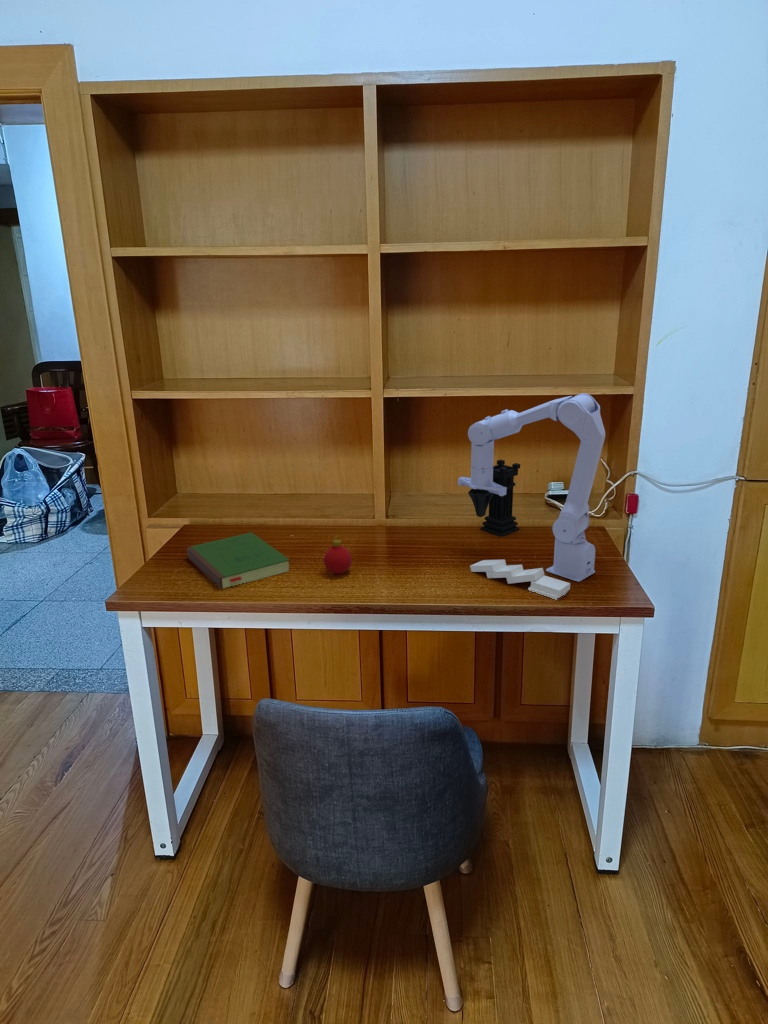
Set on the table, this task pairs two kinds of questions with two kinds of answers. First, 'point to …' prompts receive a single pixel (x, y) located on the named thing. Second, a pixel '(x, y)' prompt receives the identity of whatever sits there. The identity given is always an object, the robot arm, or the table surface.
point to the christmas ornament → (337, 558)
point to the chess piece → (502, 502)
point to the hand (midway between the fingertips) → (480, 515)
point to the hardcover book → (237, 560)
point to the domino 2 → (506, 571)
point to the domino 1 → (488, 565)
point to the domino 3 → (526, 576)
